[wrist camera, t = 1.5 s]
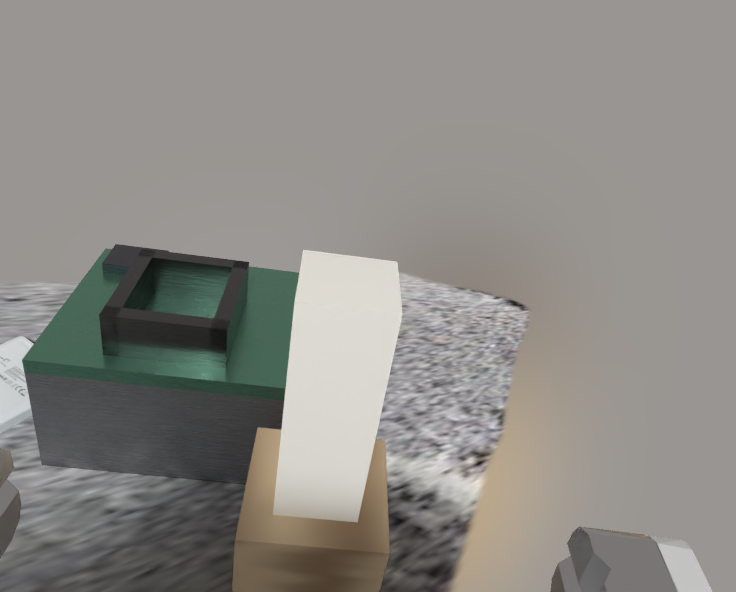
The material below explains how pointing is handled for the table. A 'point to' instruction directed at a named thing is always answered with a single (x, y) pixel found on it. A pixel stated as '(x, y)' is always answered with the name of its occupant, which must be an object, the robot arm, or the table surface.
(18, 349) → the external hard drive
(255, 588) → the parts stand
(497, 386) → the table surface
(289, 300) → the green-topped socket block
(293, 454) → the keyed plug
